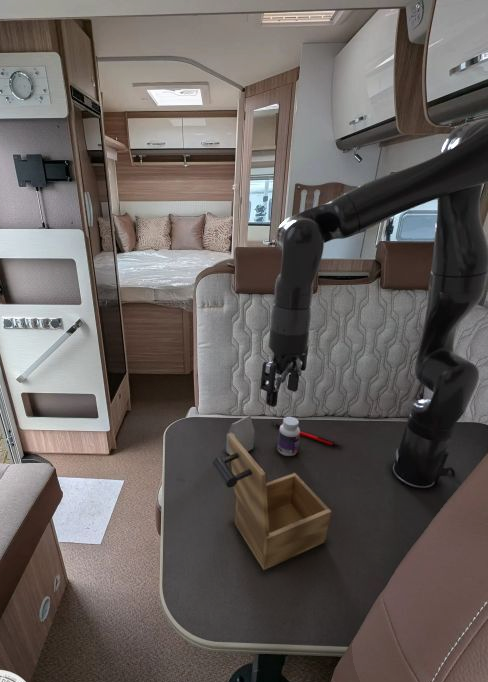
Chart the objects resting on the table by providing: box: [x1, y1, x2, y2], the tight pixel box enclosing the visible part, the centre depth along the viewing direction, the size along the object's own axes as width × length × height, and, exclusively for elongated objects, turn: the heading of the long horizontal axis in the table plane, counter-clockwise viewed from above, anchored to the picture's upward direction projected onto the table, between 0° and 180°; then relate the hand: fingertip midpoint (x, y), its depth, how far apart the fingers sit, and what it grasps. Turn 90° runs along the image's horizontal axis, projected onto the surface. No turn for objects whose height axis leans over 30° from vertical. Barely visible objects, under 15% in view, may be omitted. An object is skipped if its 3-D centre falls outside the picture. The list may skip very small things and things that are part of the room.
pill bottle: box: [276, 416, 301, 457], centre depth 97 cm, size 5×5×10 cm
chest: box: [234, 472, 332, 571], centre depth 74 cm, size 15×12×9 cm
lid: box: [211, 433, 269, 537], centre depth 64 cm, size 15×12×6 cm
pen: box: [274, 423, 339, 447], centre depth 105 cm, size 1×19×1 cm, turn 58°
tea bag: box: [225, 414, 255, 455], centre depth 97 cm, size 4×7×10 cm, turn 131°
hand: (282, 397), depth 78 cm, fingers open, 8 cm apart
